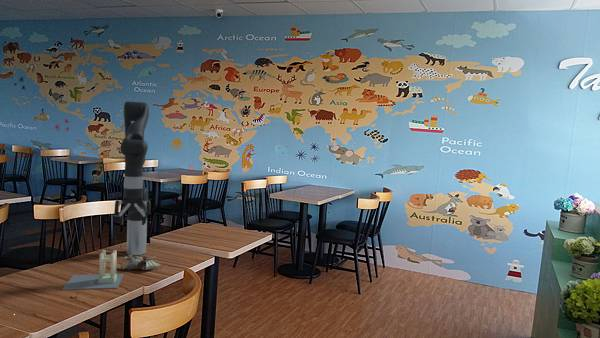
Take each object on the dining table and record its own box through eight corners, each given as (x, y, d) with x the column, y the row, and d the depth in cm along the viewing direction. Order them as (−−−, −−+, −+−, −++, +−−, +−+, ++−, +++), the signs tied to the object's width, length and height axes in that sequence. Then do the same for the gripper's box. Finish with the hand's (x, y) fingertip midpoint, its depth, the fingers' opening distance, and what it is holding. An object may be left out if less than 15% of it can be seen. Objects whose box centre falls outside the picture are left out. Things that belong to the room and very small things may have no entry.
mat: (73, 275, 187) (73, 274, 187) (123, 274, 191) (123, 273, 191) (61, 289, 171) (61, 288, 171) (117, 288, 176) (117, 287, 176)
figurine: (139, 249, 212) (171, 254, 209) (138, 262, 212) (170, 267, 209) (113, 258, 193) (148, 263, 189) (112, 272, 193) (147, 277, 189)
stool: (101, 278, 185) (101, 250, 184) (116, 278, 186) (117, 250, 185) (98, 283, 179) (98, 254, 178) (114, 283, 180) (114, 254, 179)
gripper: (151, 186, 193) (150, 223, 194) (116, 185, 190) (116, 223, 191) (150, 188, 186) (149, 226, 187) (113, 187, 182) (112, 226, 184)
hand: (132, 224), depth 189 cm, fingers open, 8 cm apart
